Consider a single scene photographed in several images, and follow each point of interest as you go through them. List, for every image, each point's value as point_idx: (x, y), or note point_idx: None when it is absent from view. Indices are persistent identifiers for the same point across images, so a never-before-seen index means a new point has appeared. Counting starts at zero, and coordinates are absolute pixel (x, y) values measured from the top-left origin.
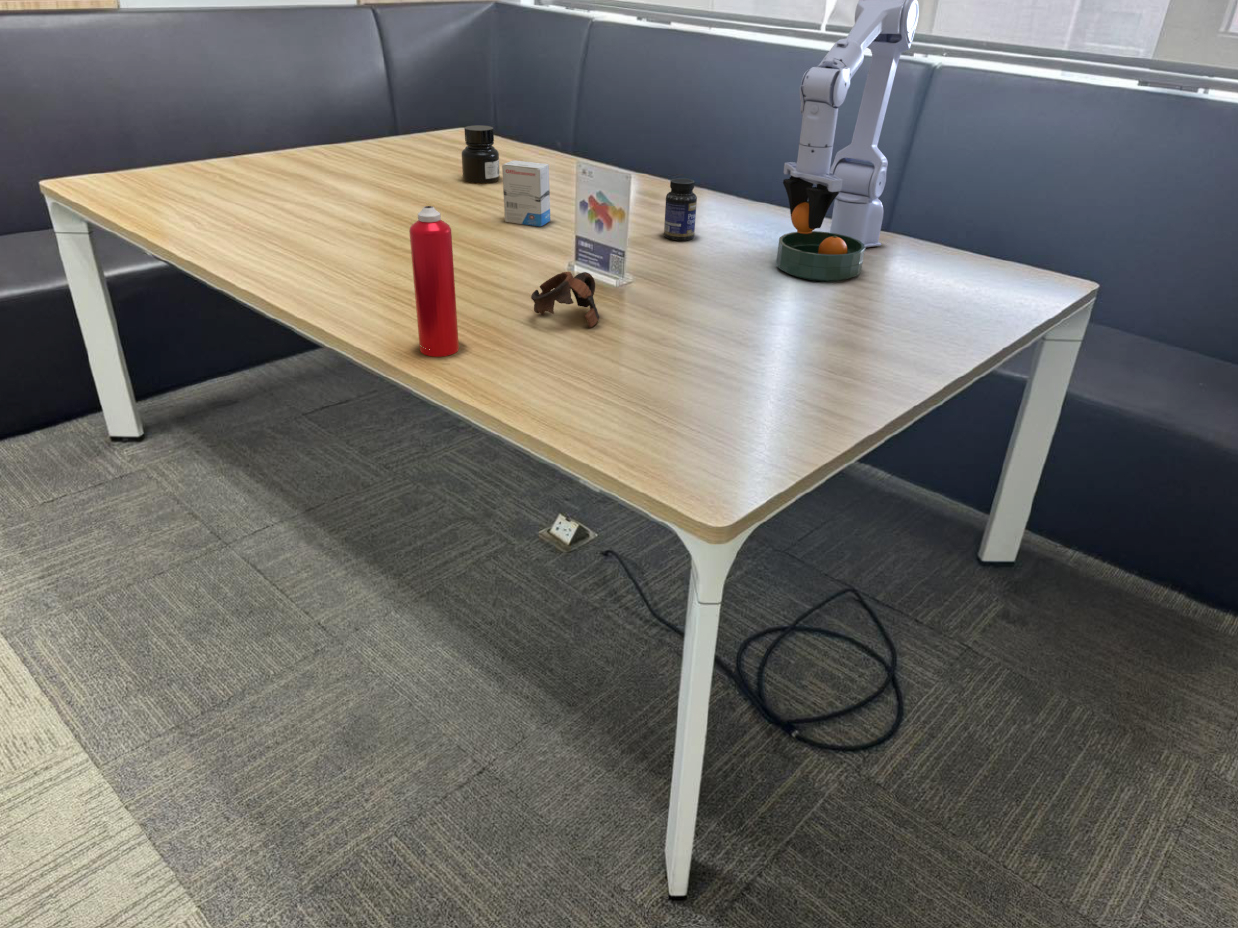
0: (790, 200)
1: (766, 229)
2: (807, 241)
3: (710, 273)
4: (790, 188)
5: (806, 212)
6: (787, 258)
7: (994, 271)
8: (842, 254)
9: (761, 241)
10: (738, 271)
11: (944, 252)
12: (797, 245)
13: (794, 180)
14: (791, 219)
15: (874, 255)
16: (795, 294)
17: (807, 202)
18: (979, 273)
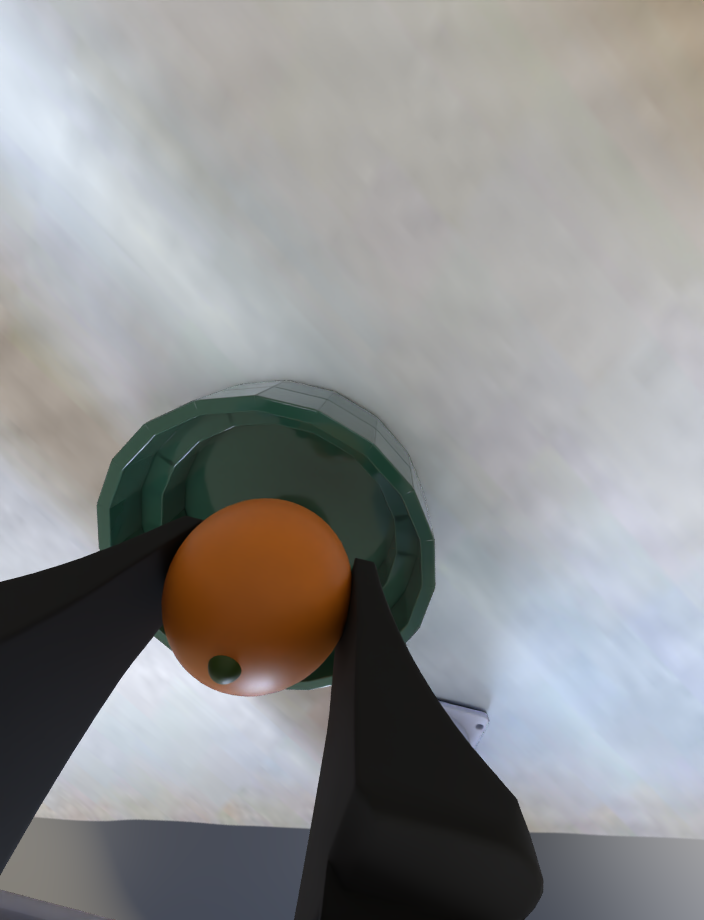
0: (379, 642)
1: (681, 690)
2: (396, 606)
3: (496, 96)
4: (352, 732)
5: (182, 567)
6: (279, 389)
7: (111, 776)
8: (104, 514)
9: (613, 591)
10: (435, 252)
11: (247, 808)
12: (400, 560)
13: (390, 909)
14: (321, 524)
15: (307, 708)
16: (124, 251)
17: (218, 663)
18: (110, 752)
